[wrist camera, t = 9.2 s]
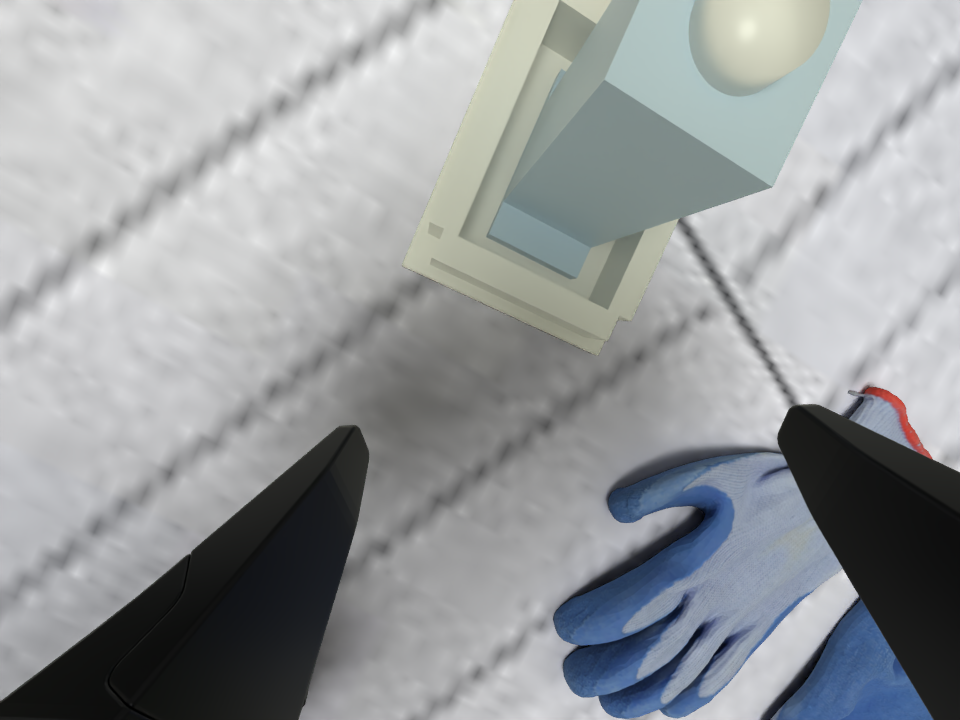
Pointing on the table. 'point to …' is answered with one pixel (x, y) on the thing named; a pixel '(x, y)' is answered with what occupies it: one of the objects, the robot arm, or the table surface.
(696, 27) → the block
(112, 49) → the table surface
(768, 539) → the pair of gloves
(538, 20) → the pocket tray
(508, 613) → the table surface
